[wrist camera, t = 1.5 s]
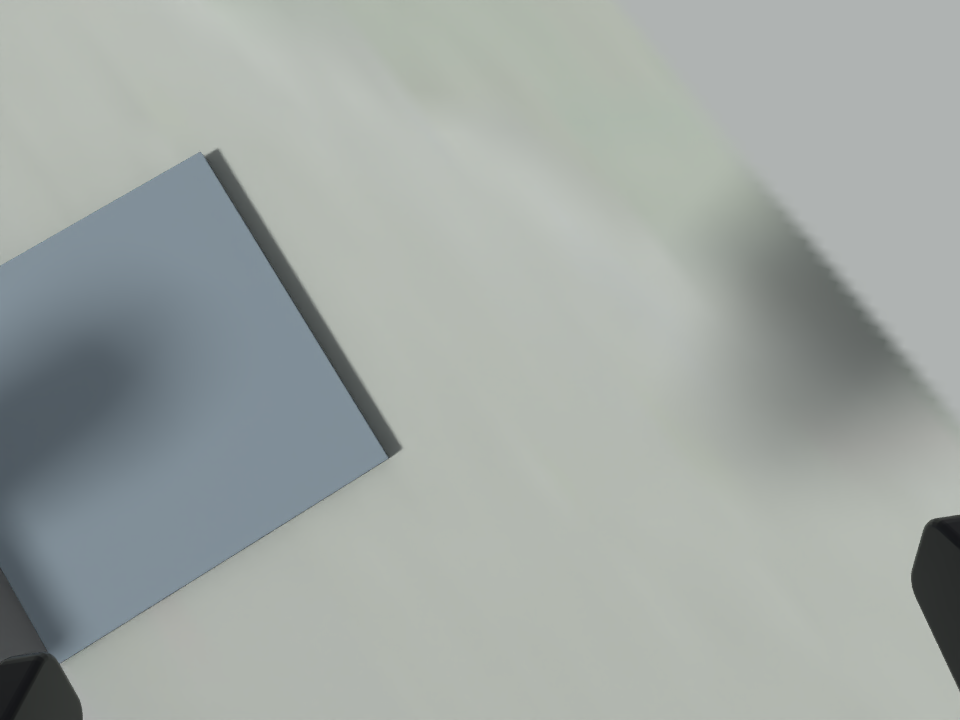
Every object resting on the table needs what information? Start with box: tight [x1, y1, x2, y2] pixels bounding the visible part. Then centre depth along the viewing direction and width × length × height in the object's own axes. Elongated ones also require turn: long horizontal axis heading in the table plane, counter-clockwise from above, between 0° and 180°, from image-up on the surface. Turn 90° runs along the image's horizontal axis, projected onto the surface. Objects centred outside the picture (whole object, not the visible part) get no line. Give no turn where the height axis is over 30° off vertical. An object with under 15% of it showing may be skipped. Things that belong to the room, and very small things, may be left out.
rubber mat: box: [0, 152, 389, 664], centre depth 23 cm, size 10×10×1 cm
